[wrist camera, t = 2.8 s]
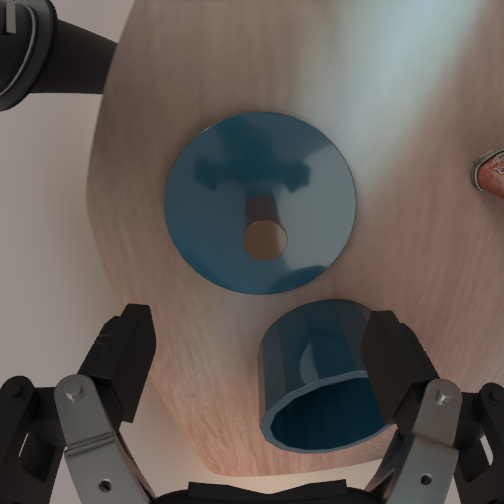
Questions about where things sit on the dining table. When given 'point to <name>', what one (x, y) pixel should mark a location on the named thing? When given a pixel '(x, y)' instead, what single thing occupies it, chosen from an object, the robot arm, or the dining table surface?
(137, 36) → the dining table surface
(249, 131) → the pot lid
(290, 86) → the dining table surface
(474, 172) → the lighter
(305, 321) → the pot
